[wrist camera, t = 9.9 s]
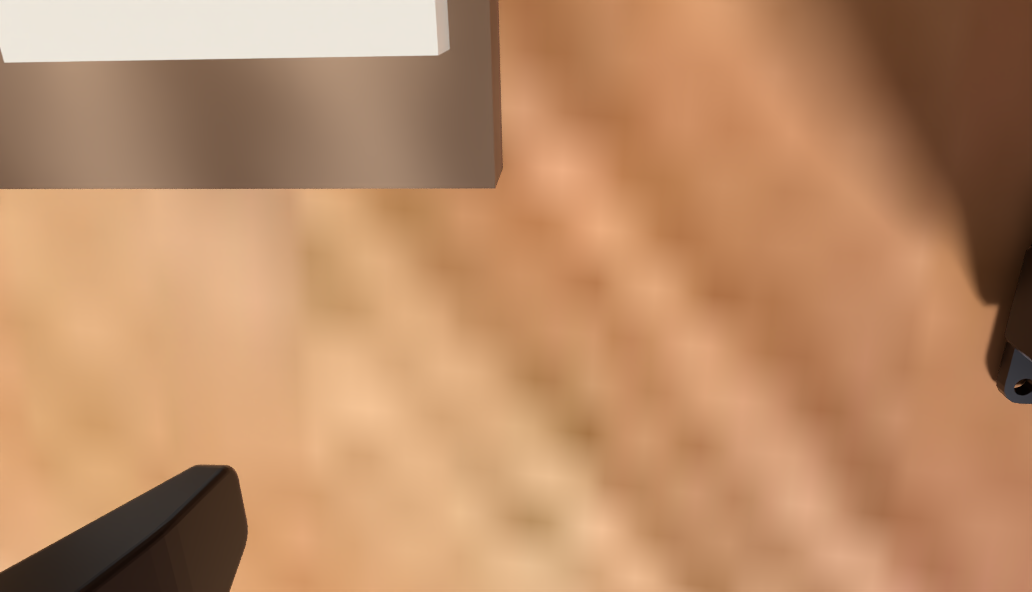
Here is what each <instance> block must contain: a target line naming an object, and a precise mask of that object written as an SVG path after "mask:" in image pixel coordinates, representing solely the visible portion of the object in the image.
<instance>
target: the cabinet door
mask: <svg viewBox="0 0 1032 592" xmlns="http://www.w3.org/2000/svg"><path fill="white" fill-rule="evenodd" d="M0 49H1V53H2V56H3V60H4V63H11V62H71V61H131V60H191V59H251V58H311V57H371V56H431V55H440V54H442V53H444V52H446V51H447V50H449V49H450V44H449V25H448V6H447V0H0Z"/></svg>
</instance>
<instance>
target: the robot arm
mask: <svg viewBox="0 0 1032 592" xmlns="http://www.w3.org/2000/svg"><path fill="white" fill-rule="evenodd" d="M1005 338H1006V340H1007V342H1006V346H1005V350H1004V353H1003V357H1002V361H1001V365H1000V369H999V372H998V376H997V385H996V386H997V388H998V389H999V391H1000V392H1001V393H1002V394H1003V395H1004V396H1005V397H1006V398H1007V399H1009V400H1010V401H1012V402H1014V403H1020V404H1032V245H1031V246H1030V247H1029V248H1028V249H1027V251H1026V254H1025V258H1024V262H1023V265H1022V269H1021V273H1020V277H1019V281H1018V285H1017V288H1016V292H1015V296H1014V300H1013V304H1012V308H1011V311H1010V315H1009V319H1008V323H1007V327H1006V331H1005ZM1022 379H1026V381H1025V383H1024V384H1023V385H1021V386H1020V387H1017V388H1014V386H1015V385H1016V383H1017V382H1018V381H1020V380H1022ZM247 534H248V525H247V519H246V514H245V509H244V504H243V499H242V494H241V489H240V484H239V479H238V476H237V473H236V471H235V469H233V468H232V467H230V466H228V465H195V466H193V467H191V468H189V469H187V470H185V471H184V472H182V473H180V474H178V475H176V476H175V477H173V478H171V479H169V480H167V481H165V482H164V483H162V484H160V485H158V486H156V487H155V488H153V489H151V490H149V491H147V492H146V493H144V494H142V495H140V496H138V497H136V498H135V499H133V500H131V501H129V502H127V503H126V504H124V505H122V506H120V507H118V508H116V509H115V510H113V511H111V512H109V513H107V514H106V515H104V516H102V517H100V518H98V519H97V520H95V521H93V522H91V523H89V524H87V525H86V526H84V527H82V528H80V529H78V530H77V531H75V532H73V533H71V534H69V535H68V536H66V537H64V538H62V539H60V540H58V541H57V542H55V543H53V544H51V545H49V546H48V547H46V548H44V549H42V550H40V551H39V552H37V553H35V554H33V555H31V556H29V557H28V558H26V559H24V560H22V561H20V562H19V563H17V564H15V565H13V566H11V567H9V568H8V569H6V570H4V571H2V572H0V592H230V589H231V586H232V583H233V580H234V577H235V574H236V572H237V569H238V566H239V563H240V560H241V557H242V555H243V552H244V549H245V546H246V541H247Z"/></svg>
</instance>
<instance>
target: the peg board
mask: <svg viewBox="0 0 1032 592" xmlns="http://www.w3.org/2000/svg"><path fill="white" fill-rule="evenodd" d="M447 6H448V25H449V44H450V49H449V50H447V51H446V52H444V53H442V54H440V55H431V56H371V57H311V58H251V59H191V60H131V61H71V62H11V63H4V60H3V56H2V53H1V49H0V189H355V188H496V185H497V182H498V180H499V177H500V174H501V172H502V169H503V163H502V124H501V86H500V48H499V10H498V0H447Z"/></svg>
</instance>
